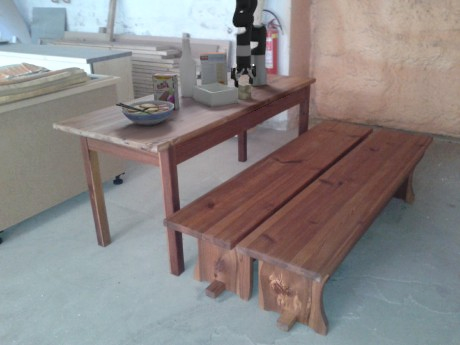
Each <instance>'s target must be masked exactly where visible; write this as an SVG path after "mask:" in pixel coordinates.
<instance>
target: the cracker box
mask: <svg viewBox="0 0 460 345" xmlns="http://www.w3.org/2000/svg"><path fill="white" fill-rule="evenodd" d="M227 54H228V53H227V52H225V51H224V52H201V53H200V54H199V62H200V65H199V67H200V80H201V84H200V85H205V84H211V83H221V84H224V85H228V84H229V82H228V81H229V80H228V61H227V60H228V58H227V57H228V56H227ZM228 86H229V85H228Z"/></svg>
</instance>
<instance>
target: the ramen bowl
mask: <svg viewBox="0 0 460 345" xmlns="http://www.w3.org/2000/svg"><path fill="white" fill-rule="evenodd" d="M115 106H118V107H121V109H120V110H121V113H122V114H123V115H124V116H125V118H127V119H128V120H129V121H131V122H133V123H135V124H139V125H141V126H155V125H157V124H159V123H161V122H163V121H165V120H166V119H167V118H169V117H170V115H171V114H172V113H173V111H174V110H173V109H174V104H173V103H171V102H167V101H154V99H153V100H152V99H151V100H142V101H135V102H129V103H128V104H125V103H121V102H118V103H116V104H115Z"/></svg>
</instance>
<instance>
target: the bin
mask: <svg viewBox="0 0 460 345" xmlns="http://www.w3.org/2000/svg"><path fill="white" fill-rule="evenodd" d="M192 98H193V100H194V101H196V102H199V103H200V104H203V105H206V106H208V107H211V108H215V107H220V106H227V105H233V104H237V103H239V98H238V88H236V87H235V86H234V87H233V86H230V85H224V84H221V83H211V84H205V85H201V84H200V85H198V84H197V86H193V97H192Z"/></svg>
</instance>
